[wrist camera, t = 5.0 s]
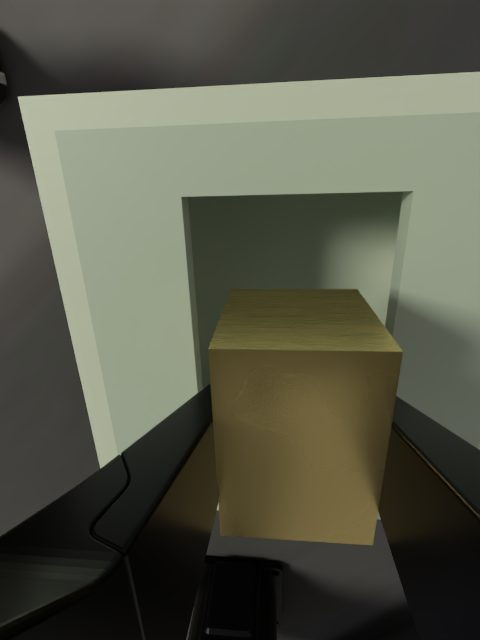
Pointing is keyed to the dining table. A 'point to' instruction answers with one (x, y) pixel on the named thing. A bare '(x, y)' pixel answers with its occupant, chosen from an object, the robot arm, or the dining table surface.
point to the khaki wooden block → (301, 414)
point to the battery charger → (2, 87)
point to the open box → (261, 228)
